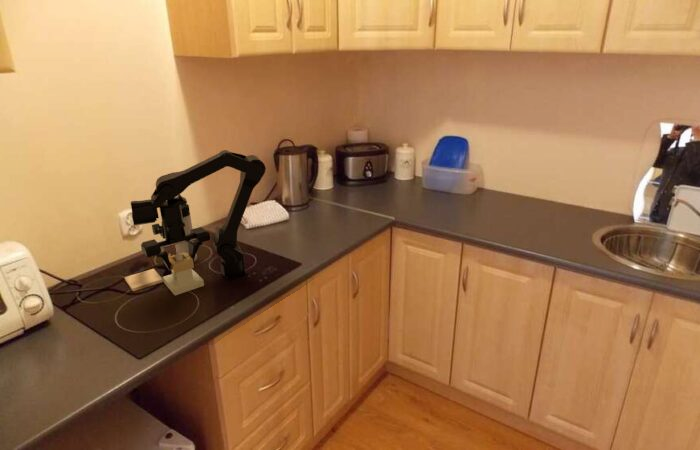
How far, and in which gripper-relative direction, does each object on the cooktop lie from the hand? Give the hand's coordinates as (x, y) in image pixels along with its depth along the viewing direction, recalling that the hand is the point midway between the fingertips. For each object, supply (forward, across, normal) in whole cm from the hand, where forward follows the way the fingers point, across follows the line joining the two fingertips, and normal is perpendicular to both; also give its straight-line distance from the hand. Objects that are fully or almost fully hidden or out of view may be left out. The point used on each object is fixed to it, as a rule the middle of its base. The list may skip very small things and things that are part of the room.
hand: (180, 266), depth 141 cm
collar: (0, 0, 0) cm, 0 cm away
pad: (+6, +9, -10) cm, 15 cm away
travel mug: (+6, -7, -15) cm, 18 cm away
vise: (+6, 0, 0) cm, 6 cm away
